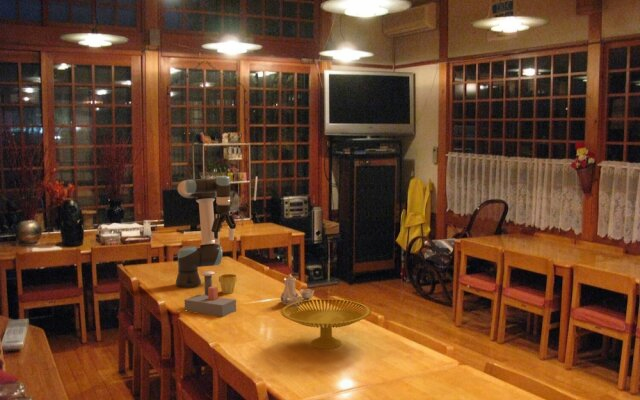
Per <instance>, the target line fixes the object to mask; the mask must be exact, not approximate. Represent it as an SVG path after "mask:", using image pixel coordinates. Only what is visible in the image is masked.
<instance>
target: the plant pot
mask: <svg viewBox="0 0 640 400" xmlns="http://www.w3.org/2000/svg"><path fill="white" fill-rule="evenodd" d="M237 281H238V276H237V274H234V273H224V274H220V275H219V276H218V282H219V284H220V289H221V292H222V294H227V295H228V294H232V293H234V292H235V287H236V283H237Z"/></svg>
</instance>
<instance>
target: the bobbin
mask: <svg viewBox="0 0 640 400" xmlns="http://www.w3.org/2000/svg"><path fill="white" fill-rule="evenodd" d="M215 274H216V273H215V271H213V270H205V271H201V276H204V277H203V278H204V295H206V296H208V288H209V287H212V286H213V276H214V275H215Z"/></svg>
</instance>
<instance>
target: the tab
mask: <svg viewBox="0 0 640 400" xmlns="http://www.w3.org/2000/svg"><path fill="white" fill-rule="evenodd" d="M218 288H219V287H218V286H213V285H212V287H209V288H208V300H211V301H214V300H217V299H219V297H218V296H219V295H218Z"/></svg>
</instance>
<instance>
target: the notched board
mask: <svg viewBox="0 0 640 400" xmlns="http://www.w3.org/2000/svg"><path fill="white" fill-rule="evenodd" d="M185 310H187V311H186V312H188V311H191V312H190V313H194V312H196V313H195V314H201V315H206V316H207V315H208V316H215V317H219V318H221V317H225V316H229V315H230V314H232V313H235V312H236V311H237V300H236V299H235V298H228V297H227V298H226V297H220V298H219V297H218V299H217V300H214V301H211V300H208V296H206V295H205V294H196V295H194V296H192V297H191V296H190V297H188V298H185V299H184V311H185Z"/></svg>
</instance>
